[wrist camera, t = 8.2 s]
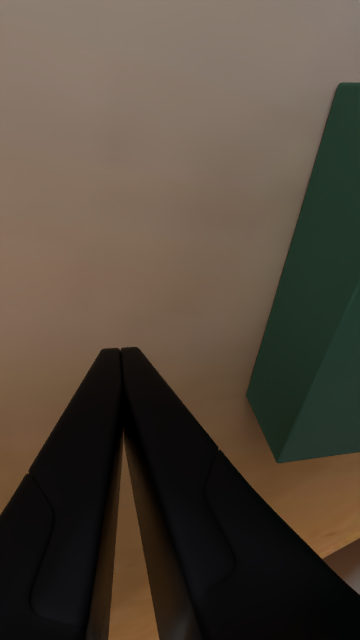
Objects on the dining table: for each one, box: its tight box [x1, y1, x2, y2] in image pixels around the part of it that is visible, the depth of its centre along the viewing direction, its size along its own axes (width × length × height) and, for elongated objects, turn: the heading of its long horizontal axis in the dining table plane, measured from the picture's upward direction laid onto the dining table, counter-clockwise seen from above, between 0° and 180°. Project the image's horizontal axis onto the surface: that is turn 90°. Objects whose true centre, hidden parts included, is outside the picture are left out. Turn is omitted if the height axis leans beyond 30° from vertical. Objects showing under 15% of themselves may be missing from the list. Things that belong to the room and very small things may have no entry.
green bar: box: [246, 83, 360, 463], centre depth 11 cm, size 12×4×4 cm, turn 175°
